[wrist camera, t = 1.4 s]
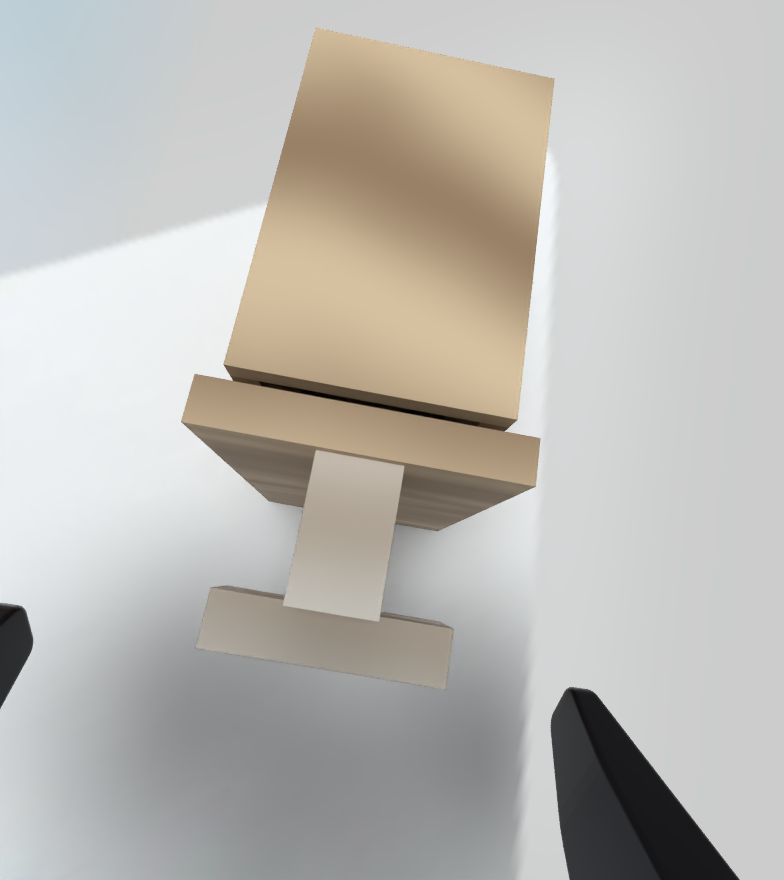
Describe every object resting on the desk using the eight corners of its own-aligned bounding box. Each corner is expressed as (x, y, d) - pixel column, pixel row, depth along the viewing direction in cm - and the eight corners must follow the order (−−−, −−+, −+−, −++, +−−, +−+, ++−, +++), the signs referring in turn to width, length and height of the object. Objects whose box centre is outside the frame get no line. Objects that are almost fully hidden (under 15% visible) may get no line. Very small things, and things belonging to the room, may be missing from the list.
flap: (422, 638, 20) (513, 719, 9) (244, 608, 20) (114, 653, 9) (441, 507, 21) (539, 438, 10) (274, 477, 21) (194, 373, 10)
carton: (428, 499, 22) (516, 419, 10) (289, 474, 22) (223, 364, 10) (456, 313, 24) (554, 78, 13) (331, 289, 24) (315, 27, 13)
